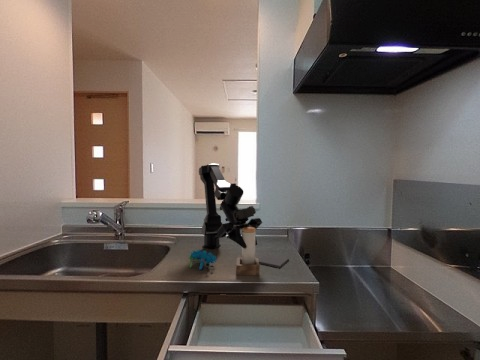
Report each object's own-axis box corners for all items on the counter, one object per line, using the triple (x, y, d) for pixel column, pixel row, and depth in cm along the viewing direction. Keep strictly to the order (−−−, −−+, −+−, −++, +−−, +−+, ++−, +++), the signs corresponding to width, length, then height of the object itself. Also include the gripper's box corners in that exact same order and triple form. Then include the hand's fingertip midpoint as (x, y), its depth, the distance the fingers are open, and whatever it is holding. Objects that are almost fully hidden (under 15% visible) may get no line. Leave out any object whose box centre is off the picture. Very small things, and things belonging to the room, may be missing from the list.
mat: (256, 262, 111) (256, 260, 111) (266, 255, 120) (266, 254, 120) (279, 267, 106) (279, 265, 106) (288, 260, 115) (288, 258, 115)
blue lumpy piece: (220, 260, 109) (210, 247, 102) (217, 275, 105) (206, 263, 98) (195, 260, 113) (184, 248, 106) (192, 274, 109) (180, 263, 102)
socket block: (236, 275, 99) (236, 265, 99) (236, 266, 107) (236, 257, 107) (259, 275, 99) (259, 265, 99) (258, 266, 107) (258, 257, 107)
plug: (238, 266, 102) (239, 228, 101) (245, 262, 106) (246, 226, 106) (250, 269, 100) (251, 230, 99) (257, 264, 104) (257, 228, 103)
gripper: (222, 201, 98) (242, 238, 91) (259, 197, 111) (280, 230, 103) (209, 219, 105) (227, 256, 97) (245, 214, 117) (264, 246, 110)
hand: (251, 246), depth 102 cm, fingers closed on plug, 5 cm apart
